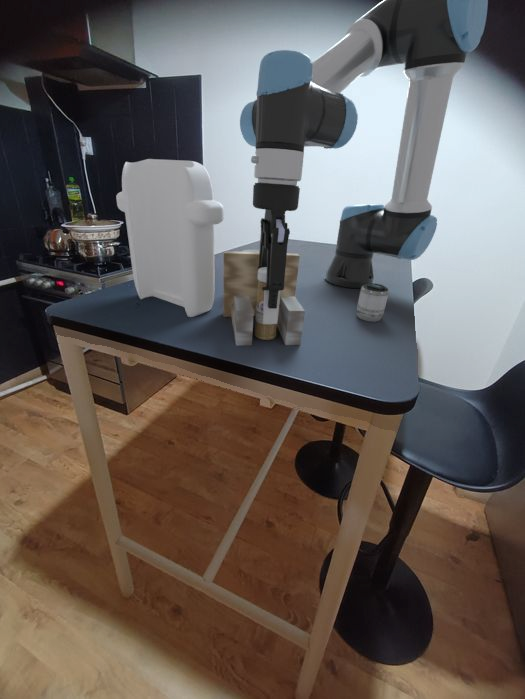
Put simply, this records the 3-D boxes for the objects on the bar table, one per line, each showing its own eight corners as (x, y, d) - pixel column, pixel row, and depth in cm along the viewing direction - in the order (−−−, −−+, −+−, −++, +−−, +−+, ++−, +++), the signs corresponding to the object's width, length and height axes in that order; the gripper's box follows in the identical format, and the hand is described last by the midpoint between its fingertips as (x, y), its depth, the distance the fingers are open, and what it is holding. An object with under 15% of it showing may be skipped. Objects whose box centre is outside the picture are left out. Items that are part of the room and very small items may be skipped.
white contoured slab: (236, 310, 75) (240, 164, 61) (203, 324, 67) (199, 159, 53) (159, 285, 88) (148, 160, 74) (124, 294, 80) (103, 155, 66)
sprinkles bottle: (252, 339, 62) (256, 271, 56) (255, 330, 66) (259, 265, 60) (276, 341, 62) (282, 273, 55) (277, 332, 66) (283, 267, 59)
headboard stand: (290, 313, 76) (297, 253, 69) (309, 344, 62) (319, 273, 55) (223, 313, 73) (223, 251, 66) (226, 345, 59) (227, 271, 52)
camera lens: (360, 310, 81) (367, 280, 77) (385, 316, 78) (393, 285, 74) (351, 317, 76) (358, 285, 72) (377, 324, 73) (385, 291, 69)
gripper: (247, 180, 58) (243, 299, 69) (262, 181, 42) (253, 337, 53) (287, 182, 60) (276, 299, 71) (316, 185, 43) (297, 337, 54)
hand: (267, 315), depth 62 cm, fingers open, 6 cm apart
